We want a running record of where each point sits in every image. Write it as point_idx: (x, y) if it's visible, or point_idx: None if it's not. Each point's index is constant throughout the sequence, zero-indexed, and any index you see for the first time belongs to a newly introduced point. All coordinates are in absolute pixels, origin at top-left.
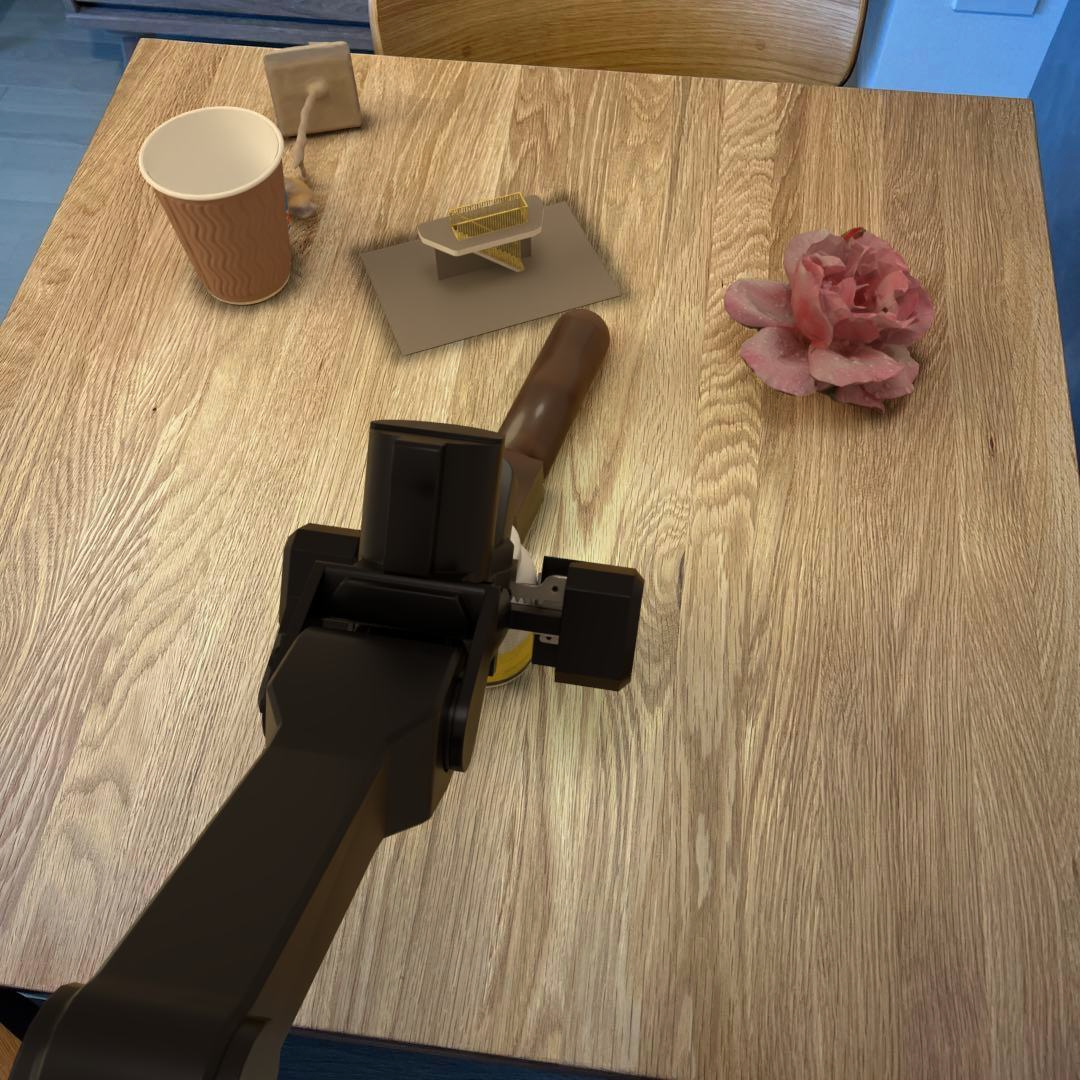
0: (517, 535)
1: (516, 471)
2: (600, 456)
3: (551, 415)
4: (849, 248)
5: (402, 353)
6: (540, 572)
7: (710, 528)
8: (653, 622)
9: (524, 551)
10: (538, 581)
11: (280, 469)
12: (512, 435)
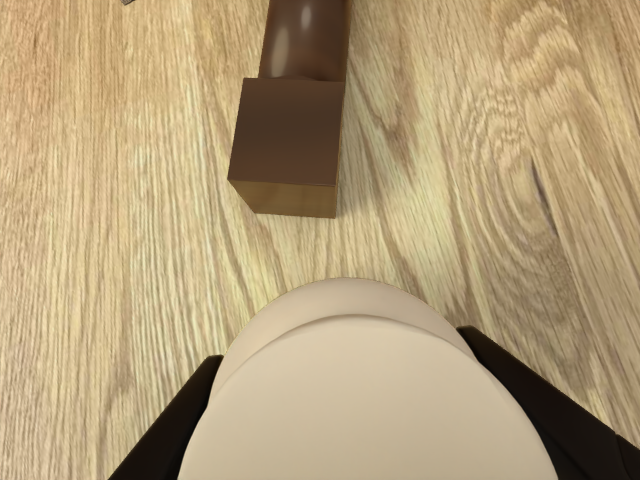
0: (519, 412)
1: (309, 109)
2: (387, 63)
3: (328, 10)
4: None
5: (123, 2)
6: (468, 339)
7: (549, 118)
8: (534, 265)
9: (443, 329)
10: (557, 463)
11: (16, 185)
12: (284, 53)
